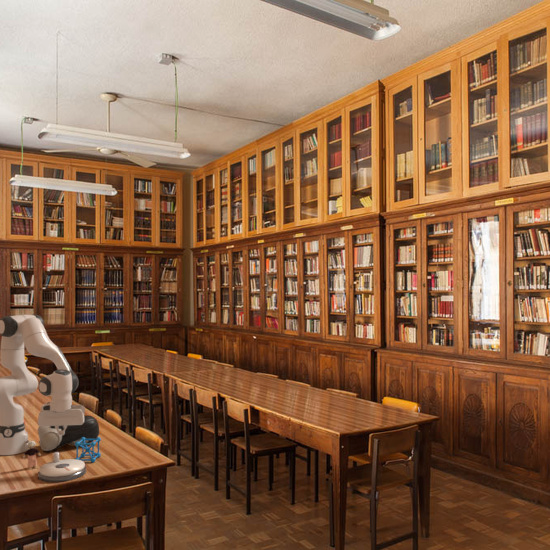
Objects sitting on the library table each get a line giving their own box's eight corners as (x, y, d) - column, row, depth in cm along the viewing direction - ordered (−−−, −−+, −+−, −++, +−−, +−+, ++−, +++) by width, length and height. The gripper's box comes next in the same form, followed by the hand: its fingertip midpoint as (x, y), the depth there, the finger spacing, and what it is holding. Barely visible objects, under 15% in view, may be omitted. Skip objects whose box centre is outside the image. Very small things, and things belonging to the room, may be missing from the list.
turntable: (33, 468, 238) (33, 456, 238) (75, 459, 251) (75, 448, 251) (48, 480, 224) (48, 467, 224) (91, 469, 237) (91, 457, 237)
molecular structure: (101, 456, 262) (101, 436, 263) (94, 463, 252) (94, 442, 253) (81, 456, 262) (81, 436, 263) (73, 463, 252) (74, 442, 253)
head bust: (43, 461, 262) (104, 445, 278) (40, 427, 262) (101, 413, 277) (38, 450, 280) (95, 435, 296) (34, 418, 280) (92, 405, 296)
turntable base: (44, 468, 245) (44, 463, 245) (89, 465, 249) (89, 461, 249) (32, 483, 226) (32, 479, 226) (81, 480, 229) (81, 476, 229)
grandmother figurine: (37, 465, 249) (37, 438, 250) (41, 467, 247) (41, 440, 247) (21, 469, 243) (21, 442, 244) (24, 471, 241) (25, 443, 241)
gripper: (86, 402, 250) (85, 432, 250) (40, 404, 246) (39, 433, 246) (83, 406, 244) (83, 435, 243) (37, 407, 240) (36, 437, 240)
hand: (61, 434), depth 245 cm, fingers closed
